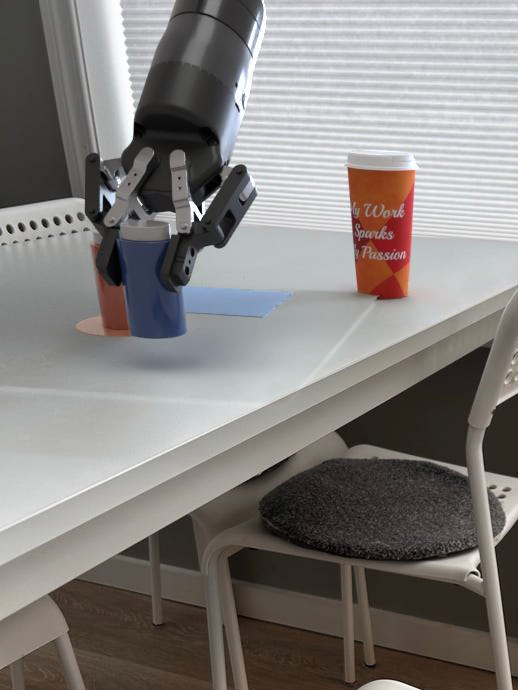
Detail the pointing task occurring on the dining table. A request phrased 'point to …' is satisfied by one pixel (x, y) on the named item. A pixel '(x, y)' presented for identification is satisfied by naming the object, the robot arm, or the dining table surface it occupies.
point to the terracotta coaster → (99, 328)
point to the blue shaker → (148, 281)
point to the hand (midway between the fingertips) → (139, 282)
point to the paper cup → (382, 219)
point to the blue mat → (231, 301)
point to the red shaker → (108, 294)
